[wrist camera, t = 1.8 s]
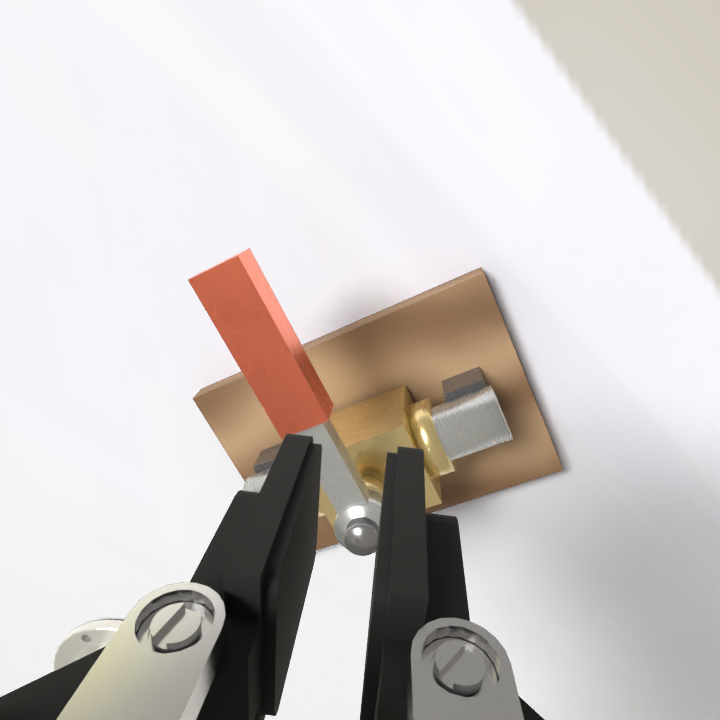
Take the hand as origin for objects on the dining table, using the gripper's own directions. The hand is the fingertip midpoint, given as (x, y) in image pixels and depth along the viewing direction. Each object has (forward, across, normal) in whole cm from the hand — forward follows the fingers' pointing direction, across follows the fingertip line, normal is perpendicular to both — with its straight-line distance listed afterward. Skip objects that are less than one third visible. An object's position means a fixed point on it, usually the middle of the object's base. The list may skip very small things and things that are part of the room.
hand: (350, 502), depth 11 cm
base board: (+22, 0, +10) cm, 24 cm away
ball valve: (+21, 0, +10) cm, 23 cm away
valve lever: (+13, +3, +5) cm, 14 cm away
